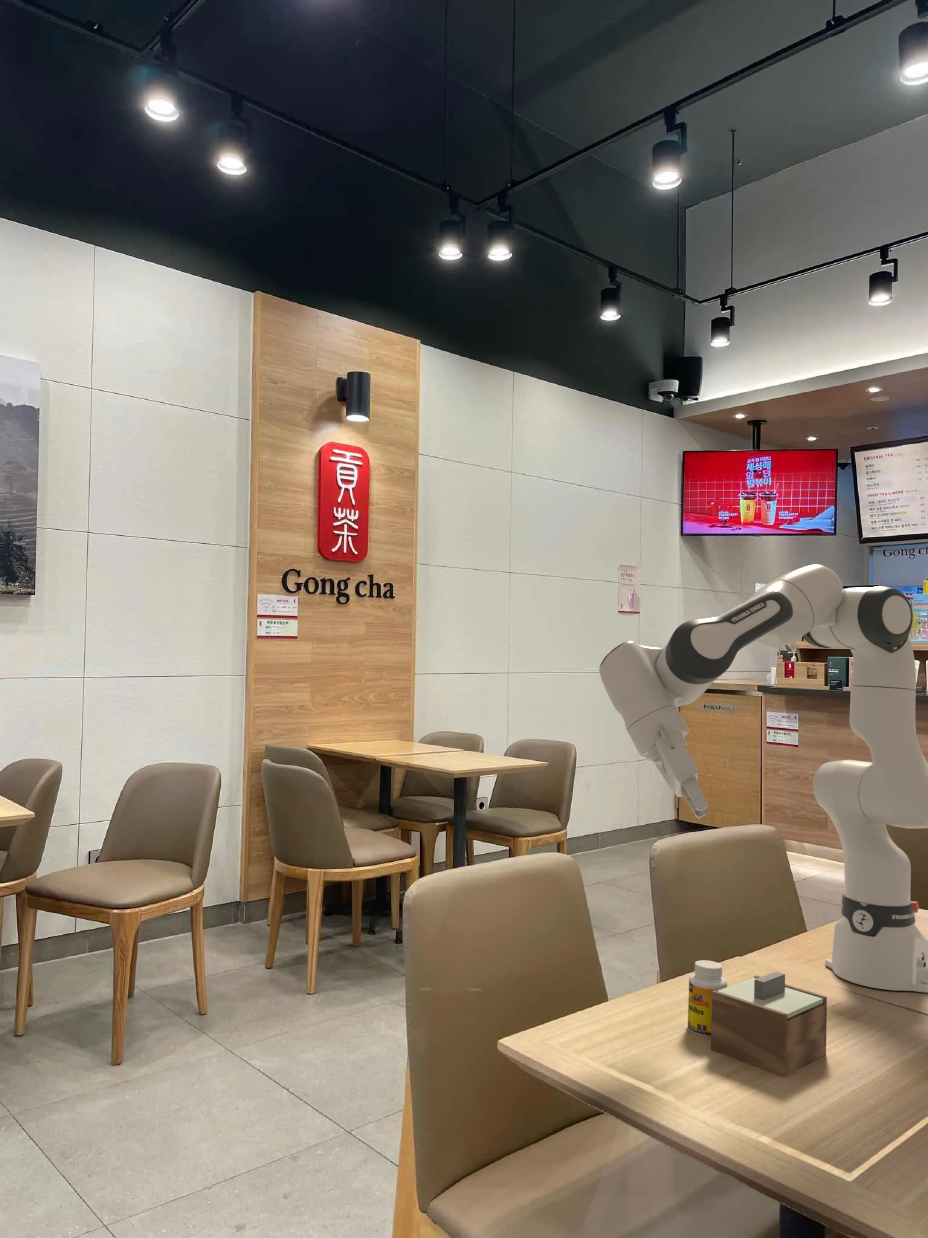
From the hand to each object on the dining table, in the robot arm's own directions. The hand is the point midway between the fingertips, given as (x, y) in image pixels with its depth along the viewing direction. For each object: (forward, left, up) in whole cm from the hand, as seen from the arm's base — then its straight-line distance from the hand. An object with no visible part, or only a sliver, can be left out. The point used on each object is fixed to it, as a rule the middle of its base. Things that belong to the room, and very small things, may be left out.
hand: (703, 812), depth 142 cm
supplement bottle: (+2, +3, -32) cm, 33 cm away
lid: (+2, +13, -24) cm, 28 cm away
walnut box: (+2, +13, -32) cm, 35 cm away
